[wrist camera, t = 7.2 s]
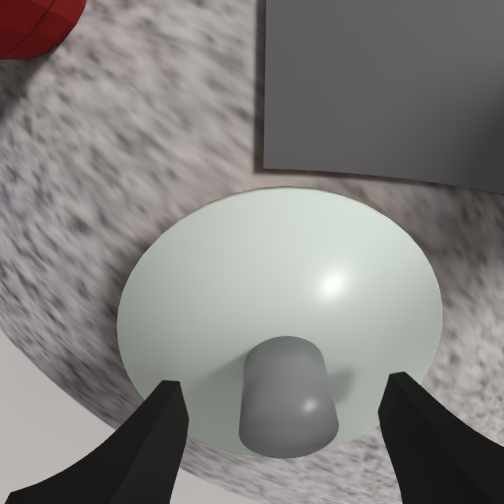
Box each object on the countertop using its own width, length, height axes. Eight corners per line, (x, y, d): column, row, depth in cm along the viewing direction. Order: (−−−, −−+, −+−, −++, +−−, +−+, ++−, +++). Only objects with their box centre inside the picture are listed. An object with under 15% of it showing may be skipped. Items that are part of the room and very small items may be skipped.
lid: (458, 193, 9) (531, 221, 6) (393, 432, 14) (412, 488, 10) (98, 195, 10) (25, 226, 6) (159, 438, 14) (142, 495, 10)
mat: (503, -24, 7) (507, -25, 7) (523, 198, 13) (528, 200, 12) (266, -94, 8) (266, -99, 7) (263, 167, 13) (263, 168, 13)
